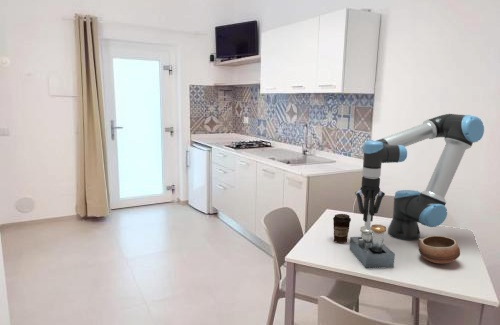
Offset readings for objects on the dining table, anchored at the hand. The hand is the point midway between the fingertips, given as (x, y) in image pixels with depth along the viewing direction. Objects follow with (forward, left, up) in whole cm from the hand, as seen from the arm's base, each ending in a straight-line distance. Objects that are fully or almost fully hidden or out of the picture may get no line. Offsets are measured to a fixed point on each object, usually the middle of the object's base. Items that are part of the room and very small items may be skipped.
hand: (367, 228), depth 168 cm
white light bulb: (0, 0, -10) cm, 10 cm away
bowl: (-28, +10, -12) cm, 32 cm away
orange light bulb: (0, +11, -5) cm, 12 cm away
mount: (0, +5, -12) cm, 13 cm away
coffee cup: (+7, -14, -12) cm, 19 cm away
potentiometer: (+4, +5, -6) cm, 9 cm away
